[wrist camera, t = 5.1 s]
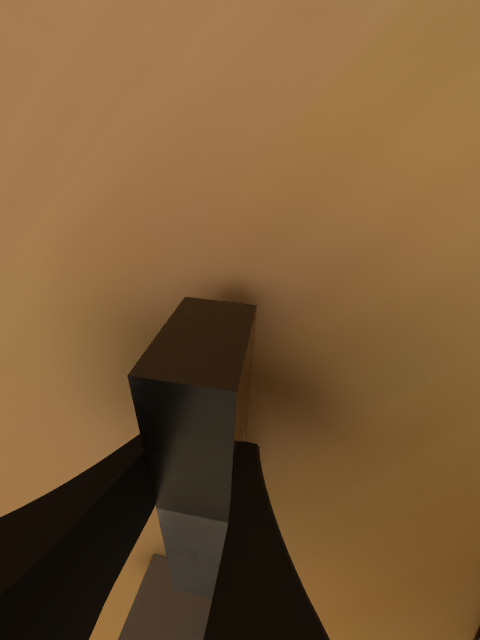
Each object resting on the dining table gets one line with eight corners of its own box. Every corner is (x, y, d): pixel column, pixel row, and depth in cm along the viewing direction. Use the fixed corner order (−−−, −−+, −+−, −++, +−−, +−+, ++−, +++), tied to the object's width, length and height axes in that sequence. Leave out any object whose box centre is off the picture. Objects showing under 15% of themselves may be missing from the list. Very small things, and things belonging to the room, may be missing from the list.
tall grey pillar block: (185, 297, 10) (127, 375, 6) (256, 305, 9) (236, 392, 6) (197, 502, 17) (174, 589, 14) (238, 510, 17) (224, 601, 13)
